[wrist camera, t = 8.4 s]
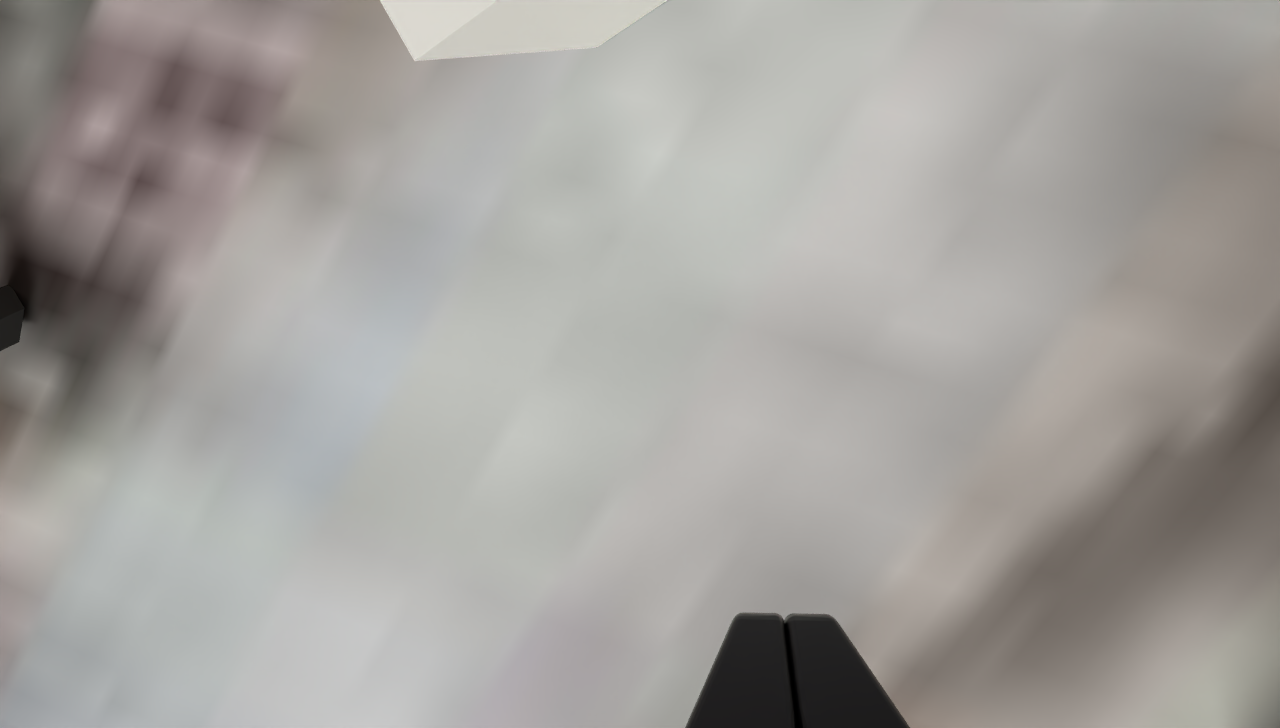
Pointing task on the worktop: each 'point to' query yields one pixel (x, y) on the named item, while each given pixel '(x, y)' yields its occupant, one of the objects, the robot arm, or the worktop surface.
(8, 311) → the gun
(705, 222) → the worktop surface
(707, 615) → the worktop surface
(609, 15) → the white box
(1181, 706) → the worktop surface
